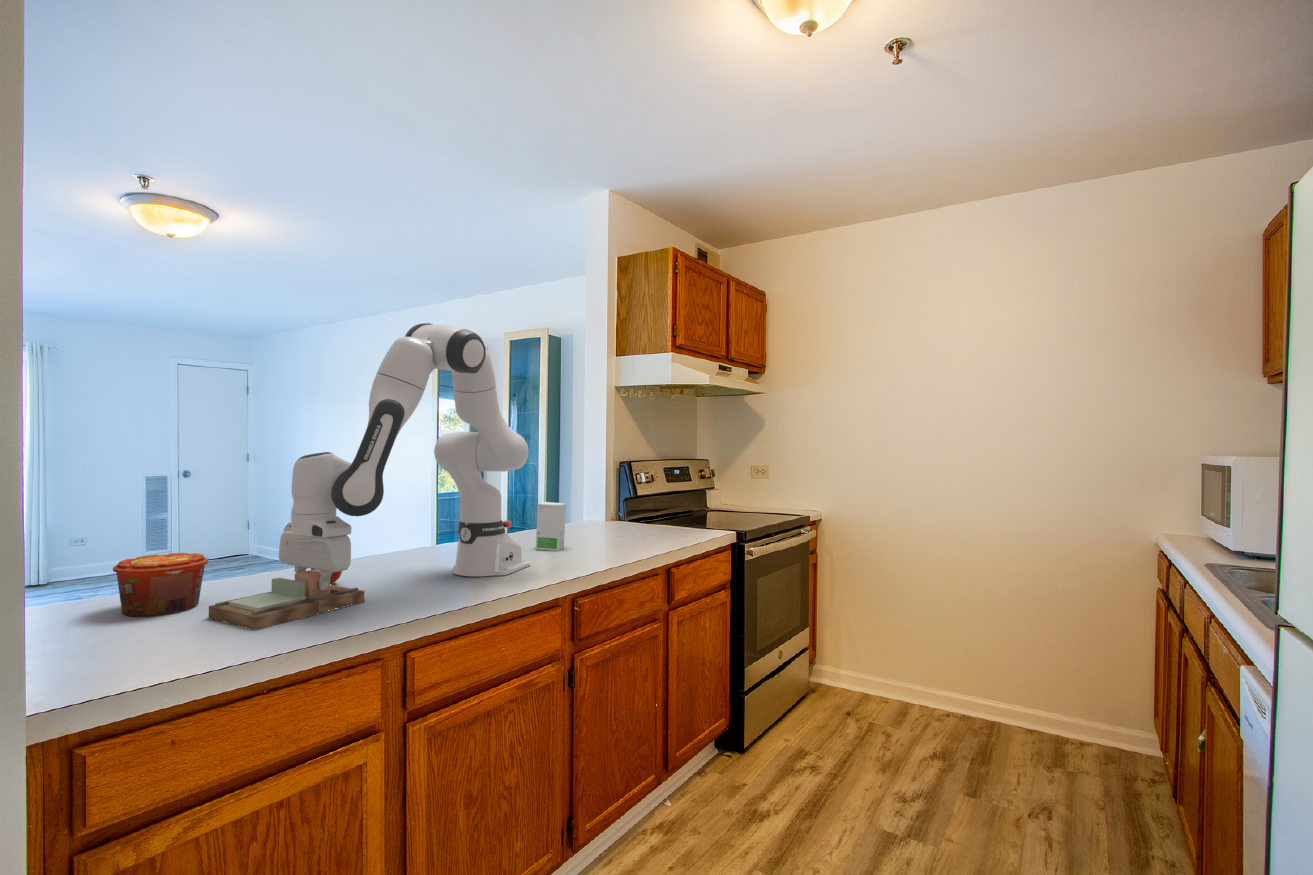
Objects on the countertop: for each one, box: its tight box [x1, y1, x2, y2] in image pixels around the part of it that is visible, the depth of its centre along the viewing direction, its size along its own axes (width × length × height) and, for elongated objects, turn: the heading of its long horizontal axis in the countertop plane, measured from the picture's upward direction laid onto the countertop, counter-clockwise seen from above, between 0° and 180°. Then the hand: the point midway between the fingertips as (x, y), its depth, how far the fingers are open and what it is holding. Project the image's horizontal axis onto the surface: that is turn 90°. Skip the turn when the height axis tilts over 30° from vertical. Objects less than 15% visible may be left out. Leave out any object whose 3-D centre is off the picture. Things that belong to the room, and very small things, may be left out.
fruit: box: [310, 568, 343, 585], centre depth 156 cm, size 7×7×8 cm
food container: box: [112, 552, 209, 618], centre depth 133 cm, size 16×16×11 cm
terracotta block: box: [294, 569, 330, 599], centre depth 138 cm, size 5×5×5 cm
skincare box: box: [535, 501, 567, 552], centre depth 211 cm, size 8×7×16 cm
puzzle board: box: [208, 584, 365, 630], centre depth 134 cm, size 24×16×3 cm, turn 153°
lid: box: [228, 577, 306, 611], centre depth 130 cm, size 10×10×4 cm
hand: (313, 587), depth 138 cm, fingers closed on terracotta block, 5 cm apart
